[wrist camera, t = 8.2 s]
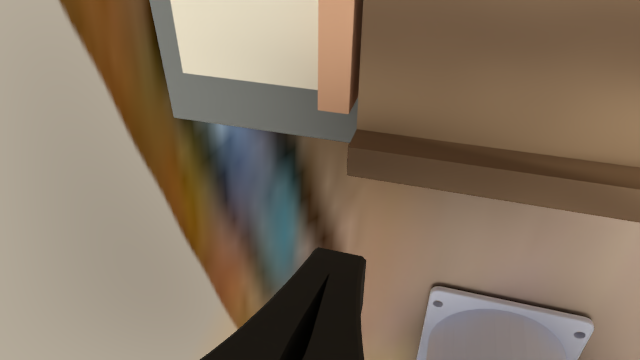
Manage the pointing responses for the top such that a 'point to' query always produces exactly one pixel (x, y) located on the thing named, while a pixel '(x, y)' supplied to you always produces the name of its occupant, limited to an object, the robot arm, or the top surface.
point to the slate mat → (243, 96)
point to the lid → (275, 44)
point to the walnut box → (503, 101)
